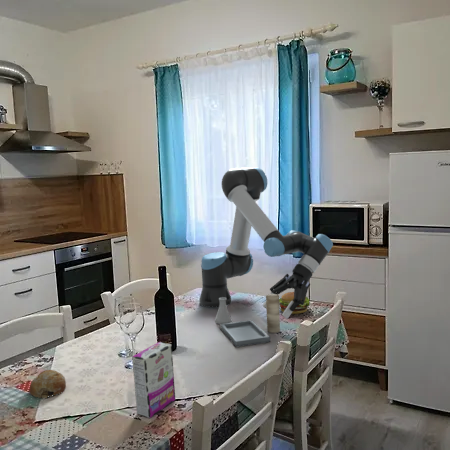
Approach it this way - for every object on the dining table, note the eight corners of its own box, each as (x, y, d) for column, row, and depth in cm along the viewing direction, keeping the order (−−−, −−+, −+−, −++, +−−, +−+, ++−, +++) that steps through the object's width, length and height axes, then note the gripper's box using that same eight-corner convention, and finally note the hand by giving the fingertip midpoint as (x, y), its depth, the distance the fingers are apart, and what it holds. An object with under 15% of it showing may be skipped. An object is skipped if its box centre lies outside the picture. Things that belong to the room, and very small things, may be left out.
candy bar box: (162, 396, 134) (158, 341, 132) (176, 400, 131) (173, 344, 129) (135, 414, 124) (131, 355, 122) (149, 419, 122) (145, 359, 120)
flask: (230, 325, 191) (229, 301, 190) (213, 324, 192) (212, 300, 191) (233, 319, 198) (232, 296, 197) (216, 318, 199) (216, 295, 198)
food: (277, 315, 201) (277, 297, 200) (279, 305, 214) (278, 288, 213) (310, 316, 198) (310, 297, 197) (309, 306, 212) (309, 289, 211)
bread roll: (32, 411, 135) (31, 392, 131) (28, 384, 143) (27, 365, 139) (68, 402, 140) (68, 383, 136) (62, 376, 147) (61, 358, 143)
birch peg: (265, 329, 184) (264, 295, 182) (277, 327, 185) (275, 293, 184) (270, 333, 179) (268, 298, 178) (282, 332, 181) (281, 296, 179)
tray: (220, 328, 187) (220, 324, 186) (251, 324, 190) (251, 319, 190) (236, 347, 168) (236, 341, 167) (270, 341, 171) (270, 336, 171)
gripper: (331, 280, 176) (299, 326, 171) (292, 268, 198) (263, 309, 193) (319, 268, 173) (287, 315, 168) (281, 258, 195) (251, 299, 190)
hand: (274, 312), depth 181 cm, fingers open, 13 cm apart
